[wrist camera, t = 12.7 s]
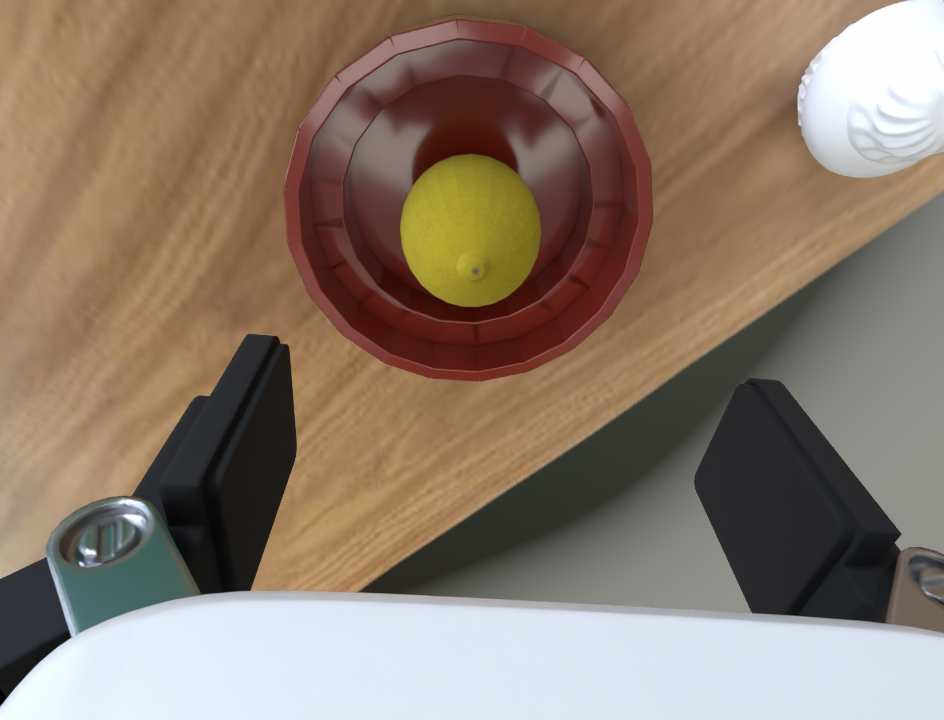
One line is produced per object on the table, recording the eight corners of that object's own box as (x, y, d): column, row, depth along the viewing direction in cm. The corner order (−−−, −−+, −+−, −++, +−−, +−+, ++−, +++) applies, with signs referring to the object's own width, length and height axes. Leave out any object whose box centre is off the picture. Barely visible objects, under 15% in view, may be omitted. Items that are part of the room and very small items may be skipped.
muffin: (932, 87, 24) (1085, 117, 19) (799, 184, 27) (898, 239, 21) (879, -43, 22) (1038, -55, 16) (736, 77, 24) (830, 104, 18)
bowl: (533, -68, 21) (554, -82, 17) (663, 243, 28) (701, 287, 24) (243, 138, 25) (201, 168, 20) (422, 368, 32) (418, 426, 27)
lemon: (506, 267, 28) (525, 355, 21) (395, 239, 27) (377, 321, 20) (545, 154, 25) (580, 215, 18) (422, 118, 24) (412, 168, 17)
